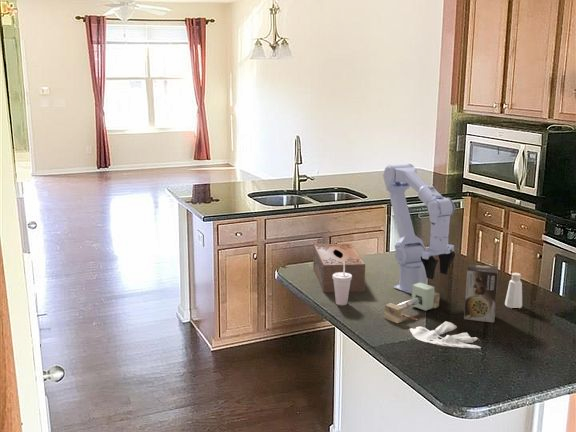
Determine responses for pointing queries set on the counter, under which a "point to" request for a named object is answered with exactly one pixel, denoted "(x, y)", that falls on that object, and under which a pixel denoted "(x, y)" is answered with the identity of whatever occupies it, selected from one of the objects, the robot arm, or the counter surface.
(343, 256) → the tissue box cover
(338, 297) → the smoothie
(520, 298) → the pepper shaker
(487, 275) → the printed cardboard box
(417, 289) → the collar
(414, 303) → the pipe
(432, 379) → the counter surface
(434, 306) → the pipe supports
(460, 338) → the cloth
